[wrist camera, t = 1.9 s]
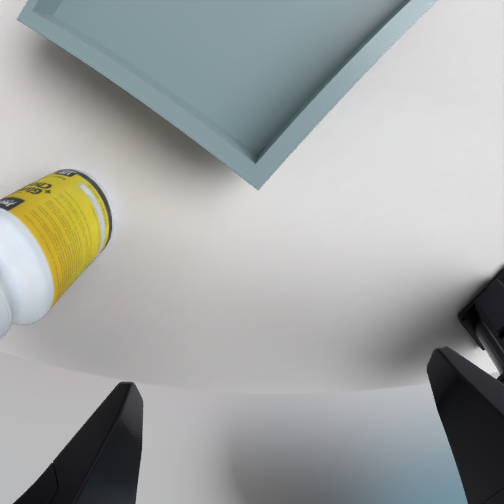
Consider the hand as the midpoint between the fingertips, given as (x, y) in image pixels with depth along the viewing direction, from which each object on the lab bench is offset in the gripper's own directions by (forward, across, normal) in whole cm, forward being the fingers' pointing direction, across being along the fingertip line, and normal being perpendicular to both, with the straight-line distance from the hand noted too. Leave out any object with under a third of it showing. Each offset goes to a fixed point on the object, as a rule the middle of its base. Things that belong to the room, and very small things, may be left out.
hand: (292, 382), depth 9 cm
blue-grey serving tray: (+13, 0, -14) cm, 19 cm away
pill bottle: (+14, +12, -1) cm, 19 cm away
